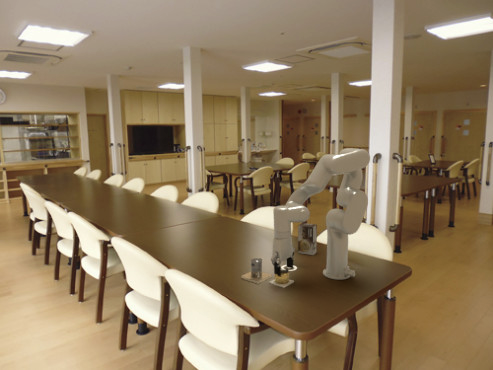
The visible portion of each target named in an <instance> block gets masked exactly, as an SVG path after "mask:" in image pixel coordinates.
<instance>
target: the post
mask: <svg viewBox="0 0 493 370" xmlns="http://www.w3.org/2000/svg"><path fill="white" fill-rule="evenodd" d="M240 278H241V279H243V280H245V281H248V282H251V283H254V284H256V285H259V284H261V283H264V282H265V281H267V280H269V279H271V278H272V274H270V273H267V272H263V260H262V258H256V257H255V258H251V260H250V271H249V272H246V273H245V274H242V275H241V277H240Z"/></svg>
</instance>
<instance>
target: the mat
mask: <svg viewBox="0 0 493 370" xmlns="http://www.w3.org/2000/svg"><path fill="white" fill-rule="evenodd" d="M294 282H295V281H294V280H293V279H290V278H289V282H288V283H287V284H277V283H275V278H274V279H271V280H270V281H268V283H269V284H271V285H272V286H273V285H274V286H276V287H280V288H282V289H283V288H286V287H289V286H290V285H292V284H293V283H294Z"/></svg>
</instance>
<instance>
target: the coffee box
mask: <svg viewBox="0 0 493 370" xmlns="http://www.w3.org/2000/svg"><path fill="white" fill-rule="evenodd" d="M297 230H298V233H297V234H298V235H297V242H298V243H297V254H303V255H308V256H314V255H315V254H317V247H318V246H317V242H318V241H317V240H318V239H317V238H318V237H317V236H318V224H315V223H308V222H307V223H305V222H300V224H299V225H297Z"/></svg>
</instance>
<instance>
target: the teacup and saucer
mask: <svg viewBox="0 0 493 370" xmlns="http://www.w3.org/2000/svg"><path fill="white" fill-rule="evenodd" d="M280 266H281V270H286V269H287V270H288V272H293V271H296V270H297V269H298V267H297V266H296V265H294V264H293V268H290V267H287V262H286V261H285V264H284V265H280ZM285 267H286V269H285Z"/></svg>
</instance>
